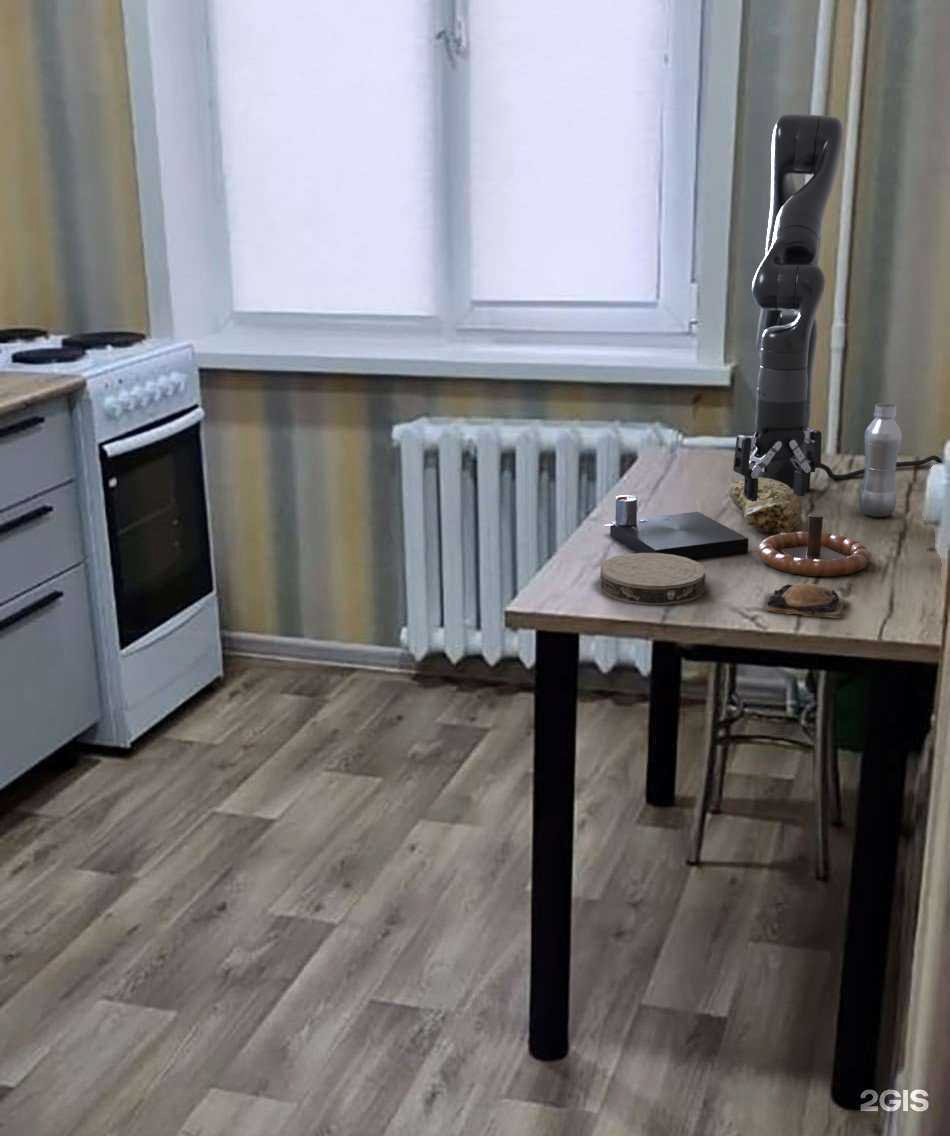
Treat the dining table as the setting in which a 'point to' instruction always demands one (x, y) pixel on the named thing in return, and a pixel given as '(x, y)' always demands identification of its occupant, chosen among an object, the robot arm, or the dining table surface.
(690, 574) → the tan disc
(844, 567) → the brown segmented ring
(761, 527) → the sponge
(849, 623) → the dining table surface
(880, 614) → the dining table surface
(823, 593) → the bread roll
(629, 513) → the hob knob
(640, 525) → the hob
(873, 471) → the plastic bottle
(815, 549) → the peg
